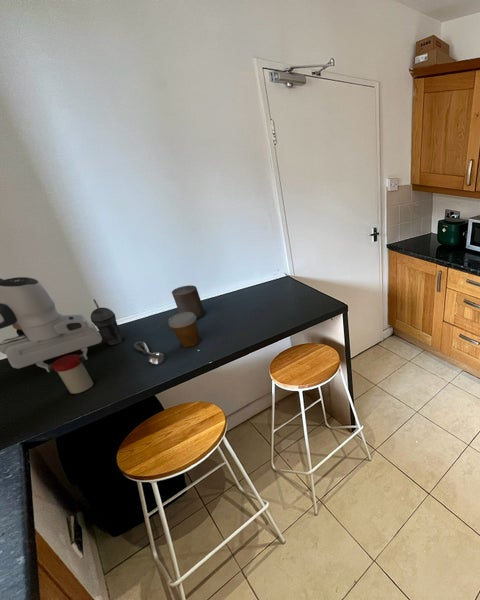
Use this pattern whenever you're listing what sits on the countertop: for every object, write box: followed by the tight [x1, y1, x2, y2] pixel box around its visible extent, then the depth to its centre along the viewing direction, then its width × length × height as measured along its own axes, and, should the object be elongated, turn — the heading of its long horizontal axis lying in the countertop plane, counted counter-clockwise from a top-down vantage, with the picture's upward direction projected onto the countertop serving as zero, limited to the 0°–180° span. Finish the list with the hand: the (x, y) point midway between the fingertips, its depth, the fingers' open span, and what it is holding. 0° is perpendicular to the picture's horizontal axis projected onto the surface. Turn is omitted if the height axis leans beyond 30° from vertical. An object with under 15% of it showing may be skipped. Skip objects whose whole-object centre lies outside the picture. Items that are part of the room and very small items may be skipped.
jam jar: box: [56, 362, 95, 395], centre depth 103 cm, size 6×6×11 cm
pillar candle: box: [171, 284, 206, 320], centre depth 144 cm, size 10×10×15 cm
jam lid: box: [52, 353, 83, 373], centre depth 100 cm, size 7×7×2 cm
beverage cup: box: [90, 299, 123, 346], centre depth 124 cm, size 7×7×20 cm
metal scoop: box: [133, 340, 165, 365], centre depth 120 cm, size 20×4×5 cm
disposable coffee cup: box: [167, 312, 201, 348], centre depth 125 cm, size 10×10×12 cm
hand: (68, 364), depth 101 cm, fingers closed on jam lid, 6 cm apart
